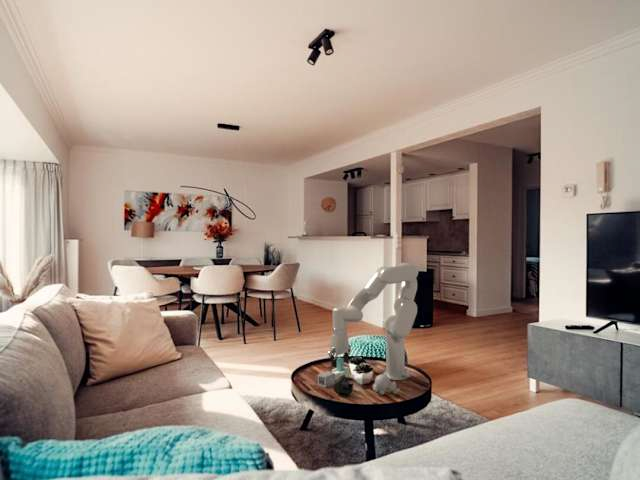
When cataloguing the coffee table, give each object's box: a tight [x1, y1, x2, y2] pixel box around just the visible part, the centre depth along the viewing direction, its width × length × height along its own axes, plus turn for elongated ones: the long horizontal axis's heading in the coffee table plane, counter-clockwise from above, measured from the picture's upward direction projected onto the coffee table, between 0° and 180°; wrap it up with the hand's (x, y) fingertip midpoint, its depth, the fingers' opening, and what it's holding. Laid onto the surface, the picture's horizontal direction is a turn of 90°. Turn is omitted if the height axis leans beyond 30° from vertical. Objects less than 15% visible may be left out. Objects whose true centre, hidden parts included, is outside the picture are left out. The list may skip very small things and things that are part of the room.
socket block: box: [331, 366, 351, 381], centre depth 201 cm, size 7×6×6 cm
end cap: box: [332, 375, 354, 398], centre depth 183 cm, size 10×7×7 cm
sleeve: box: [317, 370, 336, 389], centre depth 193 cm, size 5×7×5 cm
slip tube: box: [331, 357, 345, 381], centre depth 198 cm, size 3×12×9 cm, turn 137°
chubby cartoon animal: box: [372, 373, 401, 396], centre depth 181 cm, size 7×12×8 cm, turn 83°
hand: (340, 364), depth 201 cm, fingers open, 9 cm apart
